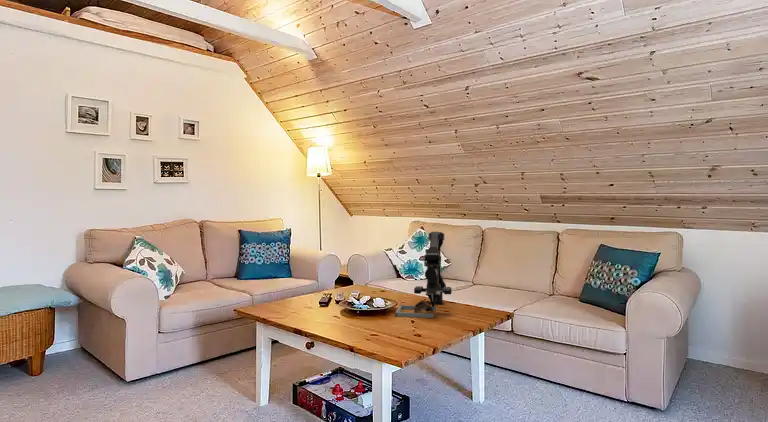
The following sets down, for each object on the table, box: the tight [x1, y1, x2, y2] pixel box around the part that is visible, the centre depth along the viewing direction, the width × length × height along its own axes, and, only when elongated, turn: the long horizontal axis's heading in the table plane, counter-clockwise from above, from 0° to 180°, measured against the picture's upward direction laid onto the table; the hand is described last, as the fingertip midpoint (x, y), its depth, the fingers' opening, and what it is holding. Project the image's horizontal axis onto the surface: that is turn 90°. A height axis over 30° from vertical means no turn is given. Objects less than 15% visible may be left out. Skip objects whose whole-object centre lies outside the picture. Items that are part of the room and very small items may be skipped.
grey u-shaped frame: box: [394, 304, 437, 319], centre depth 257 cm, size 16×19×2 cm
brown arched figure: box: [413, 300, 435, 315], centre depth 254 cm, size 12×10×8 cm
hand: (433, 307), depth 255 cm, fingers closed
